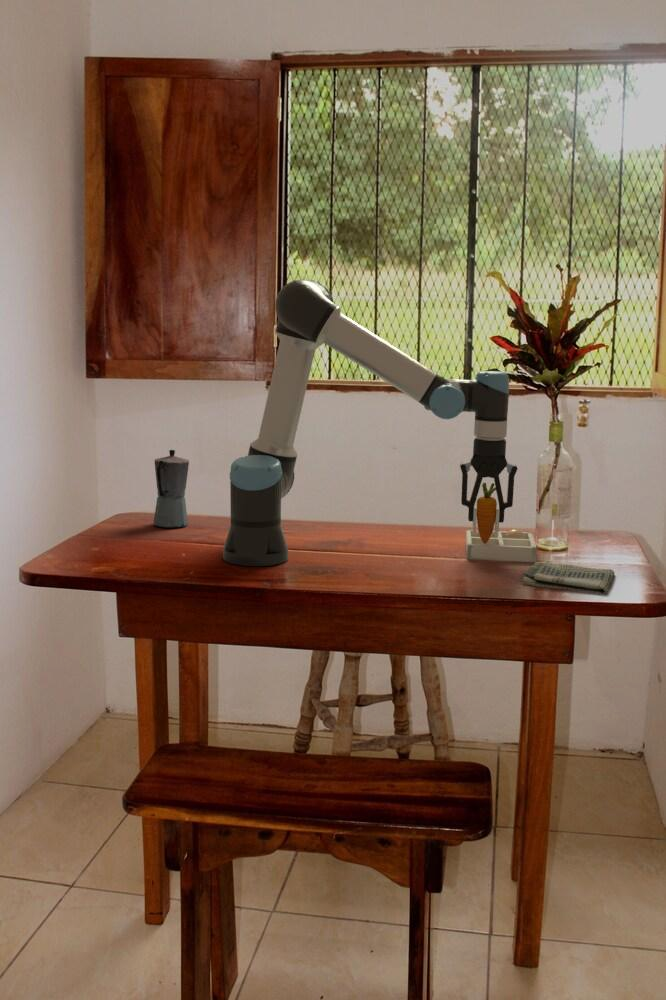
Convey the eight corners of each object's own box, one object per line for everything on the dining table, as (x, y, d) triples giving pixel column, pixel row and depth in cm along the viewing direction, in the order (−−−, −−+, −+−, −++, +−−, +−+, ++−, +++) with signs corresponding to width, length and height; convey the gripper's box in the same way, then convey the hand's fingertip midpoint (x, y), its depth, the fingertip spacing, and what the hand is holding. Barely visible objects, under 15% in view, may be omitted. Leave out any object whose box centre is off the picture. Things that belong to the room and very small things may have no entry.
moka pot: (197, 520, 284) (196, 447, 280) (178, 533, 269) (177, 455, 265) (163, 518, 286) (162, 445, 282) (143, 531, 271) (141, 454, 267)
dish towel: (615, 577, 237) (616, 563, 237) (606, 597, 221) (607, 583, 220) (533, 567, 244) (534, 554, 243) (518, 587, 227) (519, 573, 227)
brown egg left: (493, 548, 257) (494, 530, 256) (474, 548, 257) (475, 529, 256) (492, 544, 261) (493, 526, 260) (473, 543, 262) (474, 525, 261)
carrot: (489, 540, 254) (493, 479, 251) (498, 545, 250) (502, 483, 247) (470, 541, 253) (473, 480, 250) (479, 546, 248) (482, 484, 245)
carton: (535, 562, 247) (536, 547, 246) (466, 559, 248) (467, 544, 247) (530, 546, 262) (531, 532, 261) (465, 543, 264) (466, 529, 263)
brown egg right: (524, 550, 256) (525, 531, 255) (505, 549, 256) (506, 531, 255) (523, 545, 260) (524, 527, 259) (504, 544, 261) (505, 526, 260)
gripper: (527, 437, 249) (521, 533, 254) (452, 434, 251) (447, 529, 255) (529, 441, 242) (523, 540, 246) (452, 438, 244) (447, 537, 248)
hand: (485, 534), depth 251 cm, fingers closed on carrot, 5 cm apart
